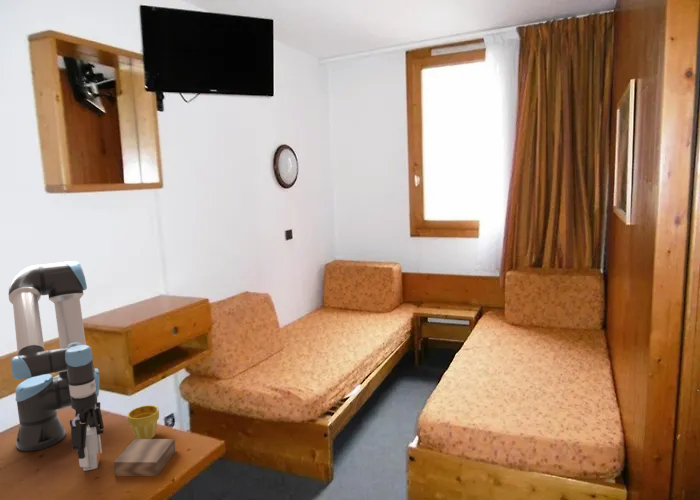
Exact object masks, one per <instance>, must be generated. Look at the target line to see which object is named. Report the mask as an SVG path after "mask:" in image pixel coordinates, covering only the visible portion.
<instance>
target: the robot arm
mask: <svg viewBox="0 0 700 500" xmlns="http://www.w3.org/2000/svg"><path fill="white" fill-rule="evenodd" d="M87 288H88V287H87V280H86V277H85V274H84V270H83V268H82V266H81V264H80V263H79V262H78V261H62V262H54V263H45V264H34V265H31V266H28V267H26V268H24V269H22V270H21V271H20V272H19V273H18V274H17V275H16V276H15V277H14V278H13V280H12V282H11V284H10V286H9V287H8V300H9V302H10V303H11V304H12V306H13V317H14V329H15V339H16V350H17V355H16V356H13V357H11V358H10V368H11V375H12V378H13V379H14V380H17V381H19V380H23V381H22V382H21V383H19V384H18V385H17V386H16V388H15V402H16V405H17V406H16V408H17V413H18V422H19V428H18V431H17V436H16V440H15V444H16V449H17V448H18V449H17V450H19V451H22V452H34V451H39V450H43V449H46V448H49V447H51V446H54V445H56V444H58V443H59V442H61V441H62V440H63V439H64V438H65V436H66V429H65V427H64V425H63V423H62V422H61V419H60V418H59V416H58V412H57V410H62V409H65V408H70V407H71V409H72V410H74V411H75V415H74V418H73V419H70V420H69V426H70V432H71V434H70V435H71V451H77V457H78V462H79V463H78V464H79V467H80V468H83V467H88V466H89V459H88V450H87V447H85V443H86V431H87V428H88V427H96V431H97V440H98V449H99V455H101V454H102V453H103V449H102V440H101V434H103V433H104V426H105V425H104V420H103V416H102V410H101V402H100V401H98V398H99V395H100V371H99V369H98V368H97V367H96V368H95V366H94V355H93V352H92V348H91V346H90V345H87V342H86V341H87V340H86V334H85V327H84V321H83V313H82V306H81V298H82V297H83V296H84V291H86V290H87ZM41 296H48V300H49V301H51V302H52V303H54V310H55V320H56V326H57V333H58V342H59V348H54V349H49V350H48V349H47V350H45V342H44V337H43V330H42V329H43V327H42V322H41V321H42V319H41V314H40V313H41V312H40V306H39V301H40V299H41ZM53 373H58V376H57V377H54V376H53V375H52V374H53Z"/></svg>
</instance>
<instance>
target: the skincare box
mask: <svg viewBox="0 0 700 500" xmlns="http://www.w3.org/2000/svg"><path fill="white" fill-rule="evenodd" d="M85 447H87V450H88V459H89V466H88V467H82V470H83V471H84V472H86V471H90V470H95V469H98V467H99V463H100V454H99V449H98V440H97V431H96V427H90V426H88V427H87V431H86V443H85Z"/></svg>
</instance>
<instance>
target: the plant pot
mask: <svg viewBox="0 0 700 500" xmlns="http://www.w3.org/2000/svg"><path fill="white" fill-rule="evenodd" d="M159 419H160V411H159V407H158V406H156V405H151V404H149V405H141V406H139V407H135V408H133V409H132V410H130V411H129V412H128V413H127V420H128V421H127V422H128V424H129V426H131V429H132V431H133V434H134V436H135V439H154V437H155V436H156V433H157V425H158V420H159Z"/></svg>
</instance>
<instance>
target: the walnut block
mask: <svg viewBox="0 0 700 500" xmlns="http://www.w3.org/2000/svg"><path fill="white" fill-rule="evenodd" d="M175 442H176V441H175V438H151V439H136V438H134V440H132V442H131V443H130V444H128V446H127V447H126V448H125V449H124V450H123V451H122V452H121V453H120V455H119V456H118V457H117V458H116V459H115V460H114V461H113V463H112V464H113V469H114V470H113V471H114V476H121V477H124V476H125V477H126V476H128V477H129V476H130V477H131V476H133V477H134V476H136V477H140V476H141V477H143V476H144V477H146V476H148V477H150V476H151V477H157V476H159V475H160V474H161V472H162V471H163V469H164V468H165V467H166V465H167V464H168V463H169V461H170V460H171V458H172V457H173V456H174V454H175V453H176V452H175V451H176V443H175ZM172 455H173V456H172Z"/></svg>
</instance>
